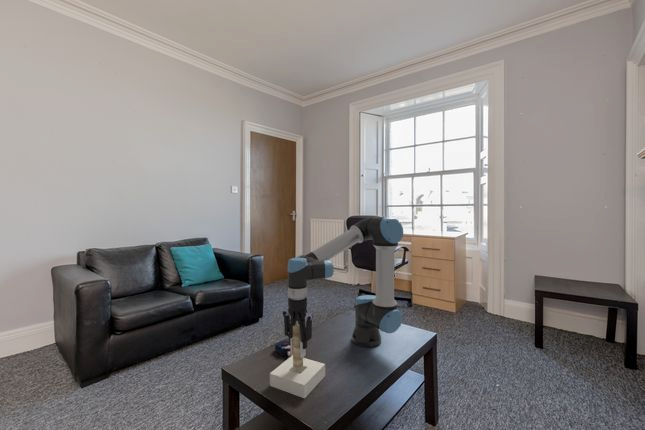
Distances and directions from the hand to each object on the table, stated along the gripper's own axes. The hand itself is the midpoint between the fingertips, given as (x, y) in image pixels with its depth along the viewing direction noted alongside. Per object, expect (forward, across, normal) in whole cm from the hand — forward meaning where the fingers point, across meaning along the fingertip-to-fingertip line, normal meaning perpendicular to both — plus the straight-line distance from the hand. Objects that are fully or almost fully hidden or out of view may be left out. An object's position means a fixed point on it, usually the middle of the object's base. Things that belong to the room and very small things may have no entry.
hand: (298, 354), depth 117 cm
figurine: (+11, -16, +16) cm, 25 cm away
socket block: (+11, 0, 0) cm, 11 cm away
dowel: (+4, 0, 0) cm, 4 cm away
